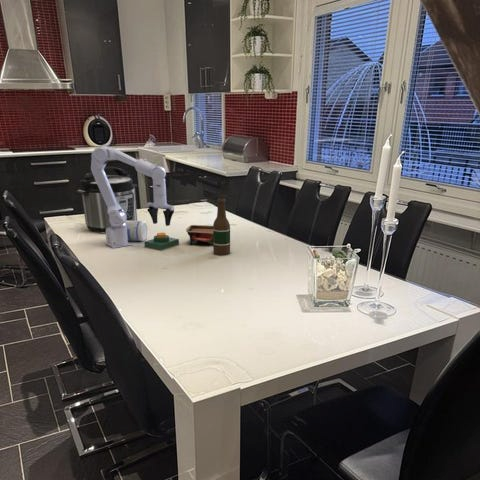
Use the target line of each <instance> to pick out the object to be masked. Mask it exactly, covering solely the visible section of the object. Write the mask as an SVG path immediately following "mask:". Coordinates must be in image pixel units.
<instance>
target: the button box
mask: <svg viewBox="0 0 480 480" xmlns="http://www.w3.org/2000/svg"><path fill="white" fill-rule="evenodd" d="M143 243H144V244H143V245H144V248H147V249H150V250H151V249H152V250H156V251H163V250H164V251H165V250H166V249H167V250H168V249H170V248H172V247H173V248H174V247H176V246H178V245H180V239H179V238H175V237H170V235H167V234H166V237H165V238H158V237H157V234H156V235H154V236H153V238H152V239H149V240H145V241H143Z"/></svg>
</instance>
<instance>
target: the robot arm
mask: <svg viewBox="0 0 480 480" xmlns="http://www.w3.org/2000/svg"><path fill="white" fill-rule="evenodd" d="M90 156H91V162H90V164H91V165H90V172H91V171H92V173H93V176H94V178H95V180H96V183H97V185H98V187H99V189H100V192H101V194H102V196H103V199H104V201H105V203H106V206H107V208H108V215H109V222H110V224H111V227H109V228H106V233H105V239H106V243H105V244H106V245H107V246H108V247H110V248H112V249H115V248H116V249H117V248H120V247H121V248H122V247H129V246H132V243H130V242H129V240H128V235H127V225H126V223H125V221H126V219H127V215H126V213H125V212H124V211H123V210H122V208H121V206H120V205H119V204H118V203H117V200H116V198H115V195H114V193H113V191H112V188H111V186H110V184H109V181H108V179H107V177H106V175H107V174H106V172H105V169H104V168H105V167H107V164H108V162H110V161H115V160H116V161H120V162H122V163H124V164H127V165H129V166H132V167H134V169H135V171H136V172H138V173H140V174H143V175H145V176H147V177H149V178H151V179H152V191H153V193H152V194H153V202H147V203H146V209H147V212H148V214H149V215H150V218H151V220H152V224H153V225H155V224H158V212H159V209H160V210H162V213H163V217H164V222H165V227H169V226H171V221H172V217H173V215H174V213H175V205H172V204H169V203H167V202H168V201H167V187H166V186H167V184H166V178H165V177H166V176H167V172H166V170H165V167H162V166H161V165H157V163H152V162H150V161H148V159H147V158H138V159H136V158H135V157H133V156H131V155H129V154H126V153H125V152H122V151H121V150H119V149H116V148H114V147H110V146H108V145H101V146H96V147H95V148H94V149H93V151H92V152H91V155H90Z"/></svg>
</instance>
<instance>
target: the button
mask: <svg viewBox="0 0 480 480" xmlns="http://www.w3.org/2000/svg"><path fill="white" fill-rule="evenodd" d="M156 235H157V237H158V238H165V237H166V235H167V234H166V232H158V233H156Z"/></svg>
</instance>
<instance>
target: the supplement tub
mask: <svg viewBox="0 0 480 480" xmlns="http://www.w3.org/2000/svg"><path fill="white" fill-rule="evenodd" d="M125 223H126V225H127V235H128V241H132V242H133V241H134V242H145V241H147V238H148V233H149V232H148V231H149V229H148V225H147V222H145V221H143V220H141V221H140V220H137V221H129V220H126V221H125Z"/></svg>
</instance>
